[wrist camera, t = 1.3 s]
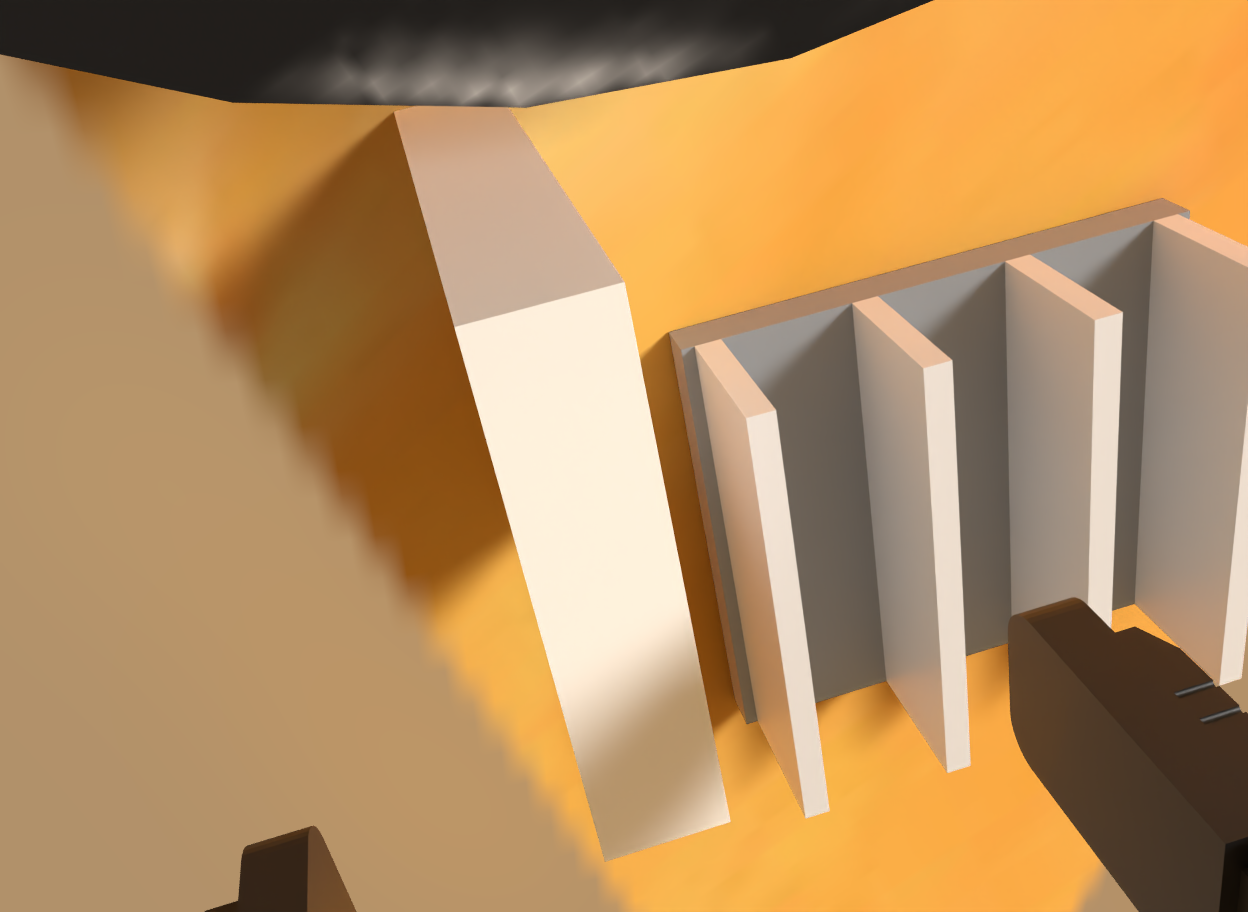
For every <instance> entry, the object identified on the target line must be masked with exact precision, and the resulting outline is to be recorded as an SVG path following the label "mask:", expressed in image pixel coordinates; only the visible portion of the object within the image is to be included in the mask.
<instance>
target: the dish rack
mask: <svg viewBox="0 0 1248 912" xmlns="http://www.w3.org/2000/svg"><path fill="white" fill-rule="evenodd" d="M1189 218H1190V211H1189V210H1187V209H1185V208H1183V207H1181V206H1179V205H1176V204H1174V203H1172V202H1170V201H1168V200H1166V199H1163V198H1161V199H1158V200H1154V201H1150V202H1147V203H1143V204H1139V205H1136V206H1132V207H1128V208H1125V209H1121V210H1117V211H1113V212H1110V213H1106V214H1102V215H1099V216H1095V217H1091V218H1088V219H1084V220H1080V221H1077V222H1073V223H1069V224H1066V225H1062V226H1058V227H1055V228H1051V229H1047V230H1043V231H1040V232H1036V233H1032V234H1029V235H1025V236H1021V237H1018V238H1014V239H1010V240H1007V241H1003V242H999V243H996V244H992V245H988V246H985V247H981V248H977V249H973V250H970V251H966V252H962V253H959V254H955V255H951V256H948V257H944V258H940V259H937V260H933V261H929V262H926V263H922V264H918V265H914V266H911V267H907V268H903V269H900V270H896V271H892V272H889V273H885V274H881V275H878V276H874V277H870V278H867V279H863V280H859V281H856V282H852V283H848V284H844V285H841V286H837V287H833V288H830V289H826V290H822V291H819V292H815V293H811V294H808V295H804V296H800V297H797V298H793V299H789V300H786V301H782V302H778V303H774V304H771V305H767V306H763V307H760V308H756V309H752V310H749V311H745V312H741V313H738V314H734V315H730V316H727V317H723V318H719V319H716V320H712V321H708V322H704V323H701V324H697V325H693V326H690V327H686V328H682V329H679V330H675V331H671V332H669V336H670V341H671V347H672V352H673V358H674V363H675V369H676V375H677V380H678V386H679V391H680V397H681V402H682V408H683V414H684V419H685V425H686V430H687V436H688V441H689V447H690V452H691V458H692V464H693V469H694V475H695V480H696V486H697V491H698V497H699V502H700V508H701V514H702V519H703V525H704V530H705V536H706V541H707V547H708V553H709V558H710V564H711V569H712V575H713V580H714V586H715V591H716V597H717V603H718V608H719V614H720V619H721V625H722V630H723V636H724V641H725V647H726V653H727V658H728V664H729V669H730V675H731V680H732V686H733V692H734V697H735V701H736V703H737V705H738V707H739V709H740V711H741V713H742V715H743V717H744V720H745V722H746V724H749V723H752V722H756V721H758V723H759V725H760V727H761V729H762V731H763V733H764V735H765V737H766V739H767V741H768V743H769V745H770V747H771V749H772V751H773V753H774V755H775V757H776V759H777V761H778V763H779V765H780V767H781V769H782V771H783V773H784V776H785V778H786V780H787V782H788V784H789V786H790V788H791V790H792V792H793V794H794V796H795V798H796V800H797V802H798V804H799V806H800V808H801V810H802V812H803V814H804V816H805V818H809V817H812V816H815V815H818V814H821V813H824V812H828V811H830V810H829V803H828V796H827V788H826V781H825V773H824V766H823V758H822V751H821V743H820V736H819V728H818V721H817V713H816V706H815V703H817V702H820V701H823V700H826V699H830V698H833V697H836V696H839V695H843V694H846V693H849V692H852V691H855V690H859V689H862V688H865V687H868V686H871V685H875V684H878V683H881V682H884V681H887V683H888V684H889V686H890V687H891V689H892V690H893V692H894V693H895V695H896V696H897V698H898V699H899V701H900V702H901V704H902V705H903V707H904V708H905V710H906V711H907V713H908V714H909V716H910V717H911V719H912V720H913V722H914V723H915V725H916V726H917V728H918V729H919V731H920V732H921V734H922V735H923V737H924V738H925V740H926V742H927V743H928V745H929V746H930V748H931V749H932V751H933V752H934V754H935V755H936V757H937V758H938V760H939V761H940V763H941V764H942V766H943V767H944V769H945V770H946V772H947V773H949V772H952V771H955V770H958V769H961V768H964V767H967V766H971V764H970V742H969V720H968V698H967V675H966V656H968V655H971V654H974V653H978V652H981V651H984V650H987V649H990V648H994V647H997V646H1000V645H1003V644H1007V643H1008V623H1009V620H1010V618H1011V617H1012V616H1013V615H1015V614H1019V613H1022V612H1025V611H1029V610H1032V609H1035V608H1038V607H1042V606H1045V605H1048V604H1052V603H1055V602H1058V601H1061V600H1065V599H1068V598H1071V597H1076V598H1079V599H1081V600H1082V601H1084V602H1085V603H1086V604H1087V605H1088V606H1089V607H1090V608H1091V609H1092V610H1093V611H1094V612H1095V613H1096V614H1097V615H1098V616H1099V617H1100V618H1101V619H1102V620H1103V621H1104V622H1105V623H1106V624H1107V625H1108V626H1109V627H1110V628H1111V620H1112V611H1113V610H1116V609H1119V608H1122V607H1126V606H1129V605H1132V604H1135V605H1137V606H1138V607H1139V608H1140V609H1141V610H1142V611H1143V612H1144V613H1145V614H1146V615H1147V616H1148V617H1149V618H1150V619H1151V620H1152V621H1153V622H1154V623H1155V624H1156V625H1157V626H1158V627H1159V628H1160V629H1161V630H1162V631H1163V632H1164V633H1166V634H1167V635H1168V636H1169V637H1170V638H1171V639H1172V640H1173V641H1174V642H1175V643H1176V644H1177V645H1178V646H1179V647H1180V648H1181V649H1182V650H1183V651H1184V652H1185V653H1186V654H1187V655H1188V656H1189V657H1190V658H1191V659H1192V660H1193V661H1195V662H1196V663H1197V664H1198V665H1199V666H1200V667H1201V668H1202V669H1203V670H1204V671H1205V672H1206V673H1207V674H1208V675H1209V676H1210V677H1211V678H1212V679H1213V680H1214V681H1215V682H1216V683H1217V684H1218V685H1222V684H1226V683H1229V682H1232V681H1235V680H1238V679H1241V677H1242V668H1243V659H1244V650H1245V641H1246V633H1247V624H1248V247H1247V246H1245V245H1242V244H1240V243H1238V242H1236V241H1234V240H1232V239H1230V238H1228V237H1225V236H1223V235H1221V234H1219V233H1217V232H1215V231H1213V230H1211V229H1208V228H1206V227H1204V226H1202V225H1200V224H1198V223H1196V222H1194V221H1191V220H1189Z"/></svg>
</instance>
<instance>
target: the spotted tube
mask: <svg viewBox="0 0 1248 912" xmlns="http://www.w3.org/2000/svg"><path fill="white" fill-rule="evenodd" d="M930 1H933V0H0V54H1V55H6V56H11V57H16V58H21V59H25V60H30V61H35V62H40V63H45V64H50V65H54V66H59V67H64V68H69V69H74V70H78V71H83V72H88V73H93V74H98V75H103V76H107V77H112V78H117V79H122V80H127V81H132V82H136V83H141V84H146V85H151V86H156V87H160V88H165V89H170V90H175V91H180V92H185V93H189V94H194V95H199V96H204V97H209V98H213V99H218V100H223V101H228V102H233V103H288V104H346V105H405V106H463V107H522V108H526V107H532V106H537V105H543V104H548V103H553V102H559V101H564V100H569V99H575V98H580V97H585V96H591V95H596V94H602V93H607V92H612V91H618V90H623V89H628V88H634V87H639V86H644V85H650V84H655V83H661V82H666V81H671V80H677V79H682V78H687V77H693V76H698V75H703V74H709V73H714V72H719V71H725V70H730V69H736V68H741V67H746V66H752V65H757V64H762V63H768V62H773V61H778V60H784V59H789V58H793V57H795V56H797V55H800V54H802V53H805V52H807V51H810V50H812V49H815V48H817V47H820V46H822V45H825V44H827V43H829V42H832V41H834V40H837V39H839V38H842V37H844V36H847V35H849V34H852V33H854V32H857V31H859V30H861V29H864V28H866V27H869V26H871V25H874V24H876V23H879V22H881V21H884V20H886V19H889V18H891V17H893V16H896V15H898V14H901V13H903V12H906V11H908V10H911V9H913V8H916V7H918V6H920V5H923V4H925V3H928V2H930Z"/></svg>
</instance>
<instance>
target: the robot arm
mask: <svg viewBox="0 0 1248 912" xmlns="http://www.w3.org/2000/svg"><path fill="white" fill-rule="evenodd" d="M1008 654H1009V686H1010V714H1011V721H1012V726H1013V730H1014V733H1015V736H1016V739H1017V742H1018V745H1019V747H1020V749H1021V751H1022V753H1023V755H1024V757H1025V759H1026V761H1027V763H1028V764H1029V766H1030V767H1031V769H1032V770H1033V771H1034V773H1035V774H1036V775H1037V777H1038V778H1039V779H1040V781H1041V782H1042V783H1043V785H1044V786H1045V787H1046V789H1047V790H1048V791H1049V793H1050V794H1051V795H1052V797H1053V798H1054V799H1055V801H1056V802H1057V803H1058V805H1059V806H1060V807H1061V809H1062V810H1063V811H1064V813H1065V814H1066V815H1067V817H1068V818H1069V819H1070V821H1071V822H1072V823H1073V825H1074V826H1075V827H1076V829H1077V830H1078V831H1079V833H1080V834H1081V835H1082V837H1083V838H1084V839H1085V841H1086V842H1087V843H1088V845H1089V846H1090V847H1091V849H1092V850H1093V851H1094V853H1095V854H1096V855H1097V857H1098V858H1099V859H1100V861H1101V862H1102V863H1103V865H1104V866H1105V867H1106V869H1107V870H1108V871H1109V872H1110V874H1111V875H1112V877H1113V878H1114V879H1115V880H1116V882H1117V883H1118V885H1119V886H1120V887H1121V889H1122V890H1123V891H1124V892H1125V894H1126V895H1127V897H1128V898H1129V899H1130V901H1131V902H1132V903H1133V905H1134V906H1135V907H1136V908H1137V910H1138V911H1139V912H1248V713H1247V712H1245V713H1242V712H1241V710H1240V708H1239V705H1238V704H1237V703H1236V702H1235V701H1234V700H1233V699H1232V698H1231V697H1230V696H1229V695H1228V694H1227V693H1226V692H1225V691H1224V690H1223V689H1222V688H1221V687H1220V686H1218V687H1215V685H1214V683H1213V680H1212V679H1211V678H1210V677H1209V676H1208V675H1207V674H1206V673H1205V672H1204V671H1203V670H1202V669H1201V668H1200V667H1199V666H1198V665H1197V664H1196V663H1195V662H1194V661H1193V660H1191V659H1190V658H1189V657H1188V656H1187V655H1186V654H1185V653H1184V652H1183V651H1182V650H1181V649H1180V648H1178V647H1176V646H1174V645H1172V644H1170V643H1168V642H1165V641H1163V640H1161V639H1159V638H1157V637H1155V636H1153V635H1151V634H1149V633H1147V632H1145V631H1143V630H1141V629H1139V628H1137V627H1132V628H1129V629H1126V630H1122V631H1119V632H1116V633H1115V632H1114V631H1113V630H1112V629H1111V628H1110V627H1109V626H1108V625H1107V624H1106V623H1105V622H1104V621H1103V620H1102V619H1101V618H1100V617H1099V616H1098V615H1097V614H1096V613H1095V612H1094V611H1093V610H1092V609H1091V608H1090V607H1089V606H1088V605H1087V604H1086V603H1085V602H1084V601H1082V600H1081V599H1079V598H1076V597H1071V598H1068V599H1065V600H1061V601H1058V602H1055V603H1052V604H1048V605H1045V606H1042V607H1038V608H1035V609H1032V610H1029V611H1025V612H1022V613H1019V614H1015V615H1013V616H1012V617H1011V618H1010V620H1009V623H1008ZM240 873H241V874H240V884H239V885H240V886H239V897H238V901H236V902H233V903H230V904H226V905H223V906H220V907H216V908H213V909H210V910H207V911H205V912H356V910H355V908H354V905H353V903H352V901H351V899H350V897H349V894H348V892H347V890H346V888H345V886H344V883H343V881H342V879H341V877H340V874H339V872H338V870H337V868H336V866H335V863H334V861H333V859H332V857H331V854H330V852H329V850H328V848H327V845H326V843H325V841H324V839H323V837H322V835H321V833H320V831H319V830H318V829H317V828H316V827H315V826H310V827H307V828H304V829H301V830H297V831H294V832H291V833H288V834H285V835H281V836H277V837H275V838H271V839H268V840H264V841H261V842H258V843H255V844H251V845H248V846H246V847H245V848H244V850H243V854H242V860H241V872H240Z"/></svg>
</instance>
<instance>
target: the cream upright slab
mask: <svg viewBox="0 0 1248 912" xmlns="http://www.w3.org/2000/svg"><path fill="white" fill-rule="evenodd" d="M394 114H395V118H396V122H397V125H398V129H399V132H400V136H401V139H402V143H403V146H404V150H405V154H406V157H407V161H408V164H409V168H410V171H411V175H412V178H413V182H414V185H415V189H416V193H417V196H418V200H419V203H420V207H421V210H422V214H423V217H424V221H425V225H426V228H427V232H428V235H429V239H430V242H431V246H432V249H433V253H434V257H435V260H436V264H437V267H438V271H439V274H440V278H441V281H442V285H443V289H444V292H445V296H446V299H447V303H448V306H449V310H450V313H451V317H452V321H453V324H454V328H455V331H456V335H457V338H458V342H459V345H460V349H461V352H462V356H463V360H464V363H465V367H466V370H467V374H468V377H469V381H470V384H471V388H472V392H473V395H474V399H475V402H476V406H477V409H478V413H479V416H480V420H481V423H482V427H483V431H484V434H485V438H486V441H487V445H488V448H489V452H490V455H491V459H492V462H493V466H494V470H495V473H496V477H497V480H498V484H499V487H500V491H501V494H502V498H503V502H504V505H505V509H506V512H507V516H508V519H509V523H510V526H511V530H512V533H513V537H514V541H515V544H516V548H517V551H518V555H519V558H520V562H521V565H522V569H523V573H524V576H525V580H526V583H527V587H528V590H529V594H530V597H531V601H532V604H533V608H534V612H535V615H536V619H537V622H538V626H539V629H540V633H541V636H542V640H543V643H544V647H545V651H546V654H547V658H548V661H549V665H550V668H551V672H552V675H553V679H554V683H555V686H556V690H557V693H558V697H559V700H560V704H561V707H562V711H563V714H564V718H565V722H566V725H567V729H568V732H569V736H570V739H571V743H572V746H573V750H574V754H575V757H576V761H577V764H578V768H579V771H580V775H581V778H582V782H583V785H584V789H585V793H586V796H587V800H588V803H589V807H590V810H591V814H592V817H593V821H594V824H595V828H596V832H597V835H598V839H599V842H600V846H601V849H602V853H603V856H604V860H605V862H606V861H609V860H612V859H615V858H619V857H622V856H625V855H628V854H631V853H634V852H637V851H640V850H644V849H647V848H650V847H653V846H656V845H659V844H662V843H666V842H669V841H672V840H675V839H678V838H681V837H684V836H687V835H691V834H694V833H697V832H700V831H703V830H706V829H709V828H713V827H716V826H719V825H722V824H725V823H728V822H730V816H729V811H728V806H727V801H726V796H725V791H724V786H723V781H722V776H721V771H720V766H719V760H718V755H717V750H716V745H715V740H714V735H713V730H712V725H711V720H710V715H709V710H708V704H707V699H706V694H705V689H704V684H703V679H702V674H701V669H700V664H699V659H698V654H697V648H696V643H695V638H694V633H693V628H692V623H691V618H690V613H689V608H688V603H687V597H686V592H685V587H684V582H683V577H682V572H681V567H680V562H679V557H678V552H677V547H676V541H675V536H674V531H673V526H672V521H671V516H670V511H669V506H668V501H667V496H666V491H665V485H664V480H663V475H662V470H661V465H660V460H659V455H658V450H657V445H656V440H655V435H654V429H653V424H652V419H651V414H650V409H649V404H648V399H647V394H646V389H645V384H644V379H643V373H642V368H641V363H640V358H639V353H638V348H637V343H636V338H635V333H634V328H633V322H632V317H631V312H630V307H629V302H628V297H627V292H626V287H625V282H624V280H623V279H622V277H621V276H620V274H619V273H618V271H617V270H616V268H615V267H614V265H613V264H612V262H611V261H610V259H609V258H608V256H607V255H606V253H605V252H604V250H603V249H602V247H601V246H600V244H599V243H598V241H597V240H596V238H595V237H594V235H593V234H592V232H591V231H590V229H589V228H588V226H587V225H586V223H585V222H584V220H583V219H582V217H581V216H580V214H579V213H578V211H577V210H576V208H575V207H574V205H573V204H572V202H571V201H570V199H569V198H568V196H567V195H566V193H565V192H564V190H563V189H562V187H561V186H560V184H559V183H558V181H557V180H556V178H555V177H554V175H553V174H552V172H551V171H550V169H549V167H548V166H547V164H546V163H545V161H544V160H543V158H542V157H541V155H540V154H539V152H538V151H537V149H536V148H535V146H534V145H533V143H532V142H531V140H530V139H529V137H528V136H527V134H526V133H525V131H524V130H523V128H522V127H521V125H520V124H519V122H518V121H517V119H516V118H515V116H514V115H513V113H512V112H511V110H510V109H509V107H463V106H414V107H410V108H406V109H402V110H398V111H394Z"/></svg>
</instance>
